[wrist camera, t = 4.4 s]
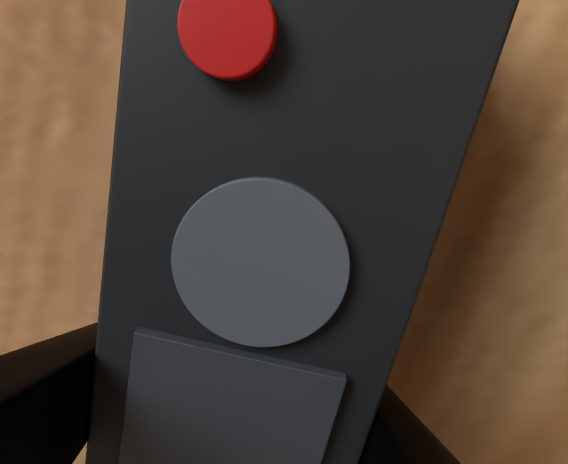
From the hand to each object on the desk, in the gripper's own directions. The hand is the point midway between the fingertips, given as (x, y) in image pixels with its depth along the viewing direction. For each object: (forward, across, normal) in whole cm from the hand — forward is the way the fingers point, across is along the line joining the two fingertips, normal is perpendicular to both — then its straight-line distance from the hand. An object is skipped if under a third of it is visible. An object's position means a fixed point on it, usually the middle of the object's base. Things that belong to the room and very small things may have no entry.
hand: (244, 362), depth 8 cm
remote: (+1, 0, 0) cm, 1 cm away
